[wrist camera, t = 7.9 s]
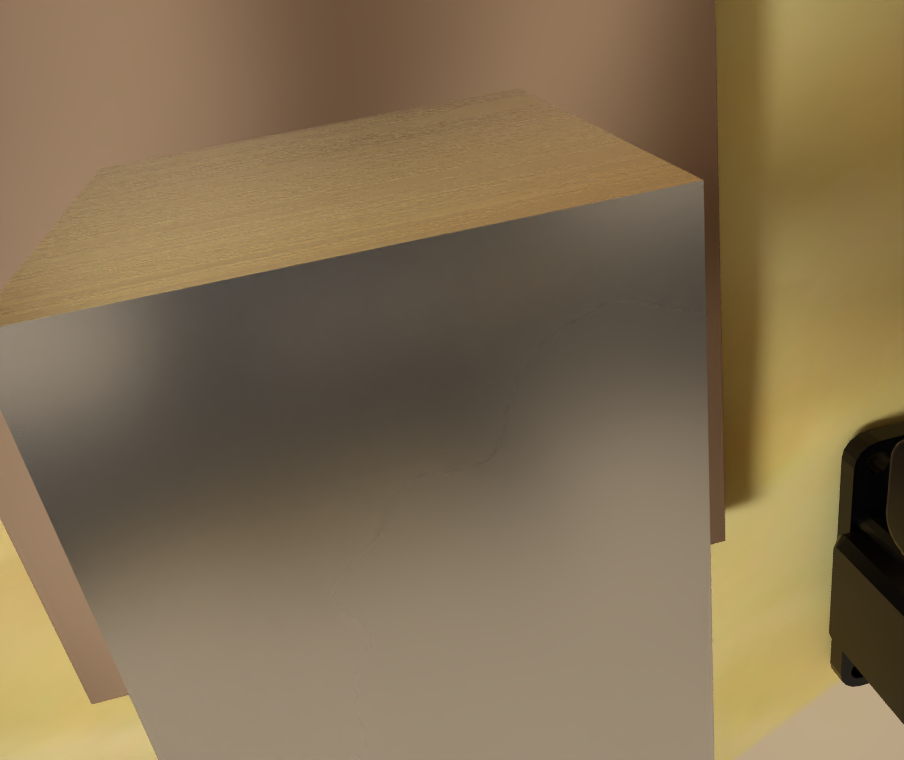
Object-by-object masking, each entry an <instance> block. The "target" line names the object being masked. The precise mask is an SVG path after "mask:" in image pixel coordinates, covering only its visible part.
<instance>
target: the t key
mask: <svg viewBox="0 0 904 760" xmlns="http://www.w3.org/2000/svg"><path fill="white" fill-rule="evenodd" d="M0 410H1V412H2V414H3V416H4V419H5V421H6V423H7V425H8V427H9V430H10V432H11V434H12V436H13V439H14V441H15V443H16V445H17V447H18V450H19V452H20V454H21V456H22V459H23V461H24V463H25V465H26V467H27V470H28V472H29V474H30V476H31V478H32V481H33V483H34V485H35V487H36V490H37V492H38V494H39V496H40V498H41V501H42V503H43V505H44V507H45V509H46V512H47V514H48V516H49V518H50V521H51V523H52V525H53V527H54V529H55V532H56V534H57V536H58V538H59V541H60V543H61V545H62V547H63V549H64V552H65V554H66V556H67V558H68V560H69V563H70V565H71V567H72V569H73V572H74V574H75V576H76V578H77V580H78V583H79V585H80V587H81V589H82V591H83V594H84V596H85V598H86V600H87V603H88V605H89V607H90V609H91V611H92V614H93V616H94V618H95V620H96V623H97V625H98V627H99V629H100V631H101V634H102V636H103V638H104V640H105V642H106V645H107V647H108V649H109V651H110V654H111V656H112V658H113V660H114V662H115V665H116V667H117V669H118V671H119V674H120V676H121V678H122V680H123V682H124V685H125V687H126V689H127V691H128V693H129V696H130V698H131V700H132V702H133V705H134V707H135V709H136V711H137V713H138V716H139V718H140V720H141V722H142V724H143V727H144V729H145V731H146V733H147V736H148V738H149V740H150V742H151V744H152V747H153V749H154V751H155V753H156V756H157V758H158V760H714V715H713V661H712V607H711V553H710V499H709V445H708V391H707V336H706V282H705V228H704V180H702V179H700V178H698V177H696V176H694V175H692V174H690V173H688V172H686V171H684V170H682V169H680V168H678V167H676V166H674V165H672V164H670V163H668V162H666V161H664V160H662V159H660V158H658V157H656V156H654V155H652V154H650V153H648V152H646V151H644V150H642V149H640V148H638V147H636V146H634V145H632V144H630V143H628V142H626V141H624V140H622V139H620V138H618V137H616V136H614V135H612V134H610V133H608V132H606V131H604V130H602V129H600V128H598V127H596V126H594V125H592V124H590V123H588V122H586V121H584V120H582V119H580V118H578V117H576V116H574V115H572V114H570V113H568V112H566V111H564V110H562V109H560V108H558V107H556V106H554V105H552V104H550V103H548V102H546V101H544V100H542V99H540V98H538V97H536V96H534V95H532V94H530V93H528V92H526V91H524V90H522V89H520V88H516V89H511V90H506V91H501V92H495V93H490V94H485V95H480V96H475V97H469V98H464V99H459V100H454V101H449V102H443V103H438V104H433V105H428V106H423V107H417V108H412V109H407V110H402V111H397V112H391V113H386V114H381V115H376V116H371V117H365V118H360V119H355V120H350V121H345V122H339V123H334V124H329V125H324V126H319V127H313V128H308V129H303V130H298V131H293V132H287V133H282V134H277V135H272V136H267V137H261V138H256V139H251V140H246V141H241V142H235V143H230V144H225V145H220V146H215V147H209V148H204V149H199V150H194V151H189V152H183V153H178V154H173V155H168V156H163V157H157V158H152V159H147V160H142V161H137V162H131V163H126V164H121V165H116V166H111V167H105V168H100V169H99V171H98V172H97V173H96V174H95V176H94V177H93V178H92V179H91V180H90V182H89V183H88V184H87V185H86V187H85V188H84V189H83V190H82V192H81V193H80V194H79V195H78V196H77V198H76V199H75V200H74V201H73V203H72V204H71V205H70V206H69V208H68V209H67V210H66V211H65V212H64V214H63V215H62V216H61V217H60V219H59V220H58V221H57V222H56V224H55V225H54V226H53V227H52V229H51V230H50V231H49V232H48V233H47V235H46V236H45V237H44V238H43V240H42V241H41V242H40V243H39V245H38V246H37V247H36V248H35V249H34V251H33V252H32V253H31V254H30V256H29V257H28V258H27V259H26V261H25V262H24V263H23V264H22V265H21V267H20V268H19V269H18V270H17V272H16V273H15V274H14V275H13V277H12V278H11V279H10V280H9V282H8V283H7V284H6V285H5V286H4V288H3V289H2V290H1V291H0Z"/></svg>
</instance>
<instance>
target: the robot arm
mask: <svg viewBox="0 0 904 760" xmlns="http://www.w3.org/2000/svg"><path fill="white" fill-rule="evenodd" d="M875 453H876V455H875V456H874V457H873V459H872V460H871V461H869V462H867V460H868V459H869V458H870V457H871V456H872V455H873V454H875ZM829 634H830V636H831V638H832V643H831V661H830V663H831V667H832V669H833V670H834V672H835V673H836V674H837V675H838V677H839V678H840V679H841V680H842V682H843V683H845V684H846V685H848V686H852V687H854V686H861V685H864V684H868V683H870V685H871V686H872V687H873V688H874V689H875V691H876V692H877V693H878V694H879V695H880V697H881V698H882V699H883V700H884V701H885V703H886V704H887V705H888V706H889V707H890V708H891V710H892V711H893V712H894V713H895V714H896V716H897V717H898V718H899V719H900V720H901V722H902V723H903V724H904V422H901V423H897V424H893V425H889V426H885V427H881V428H877V429H873V430H869V431H866V432H863V433H861V434H859V435H857V436H856V437H854V438H853V439H852V440H851V441H850V442H849V443H848V445H847V446H846V448H845V449H844V452H843V456H842V463H841V481H840V499H839V517H838V535H837V541H836V544H835V546H834V550H833V569H832V588H831V606H830V625H829Z"/></svg>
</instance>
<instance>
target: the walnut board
mask: <svg viewBox="0 0 904 760" xmlns="http://www.w3.org/2000/svg"><path fill="white" fill-rule="evenodd" d="M516 88H520V89H522V90H524V91H526V92H528V93H530V94H532V95H534V96H536V97H538V98H540V99H542V100H544V101H546V102H548V103H550V104H552V105H554V106H556V107H558V108H560V109H562V110H564V111H566V112H568V113H570V114H572V115H574V116H576V117H578V118H580V119H582V120H584V121H586V122H588V123H590V124H592V125H594V126H596V127H598V128H600V129H602V130H604V131H606V132H608V133H610V134H612V135H614V136H616V137H618V138H620V139H622V140H624V141H626V142H628V143H630V144H632V145H634V146H636V147H638V148H640V149H642V150H644V151H646V152H648V153H650V154H652V155H654V156H656V157H658V158H660V159H662V160H664V161H666V162H668V163H670V164H672V165H674V166H676V167H678V168H680V169H682V170H684V171H686V172H688V173H690V174H692V175H694V176H696V177H698V178H700V179H702V180H704V228H705V282H706V336H707V391H708V445H709V499H710V544H714V543H718V542H722V541H725V507H724V454H723V400H722V347H721V293H720V240H719V186H718V133H717V80H716V26H715V0H0V291H1V290H2V289H3V288H4V286H5V285H6V284H7V283H8V282H9V280H10V279H11V278H12V277H13V275H14V274H15V273H16V272H17V270H18V269H19V268H20V267H21V265H22V264H23V263H24V262H25V261H26V259H27V258H28V257H29V256H30V254H31V253H32V252H33V251H34V249H35V248H36V247H37V246H38V245H39V243H40V242H41V241H42V240H43V238H44V237H45V236H46V235H47V233H48V232H49V231H50V230H51V229H52V227H53V226H54V225H55V224H56V222H57V221H58V220H59V219H60V217H61V216H62V215H63V214H64V212H65V211H66V210H67V209H68V208H69V206H70V205H71V204H72V203H73V201H74V200H75V199H76V198H77V196H78V195H79V194H80V193H81V192H82V190H83V189H84V188H85V187H86V185H87V184H88V183H89V182H90V180H91V179H92V178H93V177H94V176H95V174H96V173H97V172H98V171H99V169H100V168H105V167H111V166H116V165H121V164H126V163H131V162H137V161H142V160H147V159H152V158H157V157H163V156H168V155H173V154H178V153H183V152H189V151H194V150H199V149H204V148H209V147H215V146H220V145H225V144H230V143H235V142H241V141H246V140H251V139H256V138H261V137H267V136H272V135H277V134H282V133H287V132H293V131H298V130H303V129H308V128H313V127H319V126H324V125H329V124H334V123H339V122H345V121H350V120H355V119H360V118H365V117H371V116H376V115H381V114H386V113H391V112H397V111H402V110H407V109H412V108H417V107H423V106H428V105H433V104H438V103H443V102H449V101H454V100H459V99H464V98H469V97H475V96H480V95H485V94H490V93H495V92H501V91H506V90H511V89H516ZM0 519H1V521H2V523H3V525H4V527H5V529H6V531H7V533H8V535H9V537H10V539H11V541H12V543H13V545H14V547H15V549H16V551H17V553H18V555H19V557H20V559H21V561H22V563H23V565H24V567H25V569H26V571H27V574H28V576H29V578H30V580H31V582H32V584H33V586H34V588H35V590H36V592H37V594H38V596H39V598H40V600H41V602H42V604H43V606H44V608H45V610H46V612H47V614H48V616H49V618H50V620H51V622H52V624H53V626H54V628H55V631H56V633H57V635H58V637H59V639H60V641H61V643H62V645H63V647H64V649H65V651H66V653H67V655H68V657H69V659H70V661H71V663H72V665H73V667H74V669H75V671H76V673H77V675H78V677H79V679H80V681H81V683H82V685H83V688H84V690H85V692H86V694H87V696H88V698H89V700H90V702H91V704H95V703H99V702H102V701H106V700H110V699H114V698H118V697H122V696H126V695H129V693H128V691H127V689H126V687H125V685H124V682H123V680H122V678H121V676H120V674H119V671H118V669H117V667H116V665H115V662H114V660H113V658H112V656H111V654H110V651H109V649H108V647H107V645H106V642H105V640H104V638H103V636H102V634H101V631H100V629H99V627H98V625H97V623H96V620H95V618H94V616H93V614H92V611H91V609H90V607H89V605H88V603H87V600H86V598H85V596H84V594H83V591H82V589H81V587H80V585H79V583H78V580H77V578H76V576H75V574H74V572H73V569H72V567H71V565H70V563H69V560H68V558H67V556H66V554H65V552H64V549H63V547H62V545H61V543H60V541H59V538H58V536H57V534H56V532H55V529H54V527H53V525H52V523H51V521H50V518H49V516H48V514H47V512H46V509H45V507H44V505H43V503H42V501H41V498H40V496H39V494H38V492H37V490H36V487H35V485H34V483H33V481H32V478H31V476H30V474H29V472H28V470H27V467H26V465H25V463H24V461H23V459H22V456H21V454H20V452H19V450H18V447H17V445H16V443H15V441H14V439H13V436H12V434H11V432H10V430H9V427H8V425H7V423H6V421H5V419H4V416H3V414H2V412H1V410H0Z"/></svg>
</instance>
